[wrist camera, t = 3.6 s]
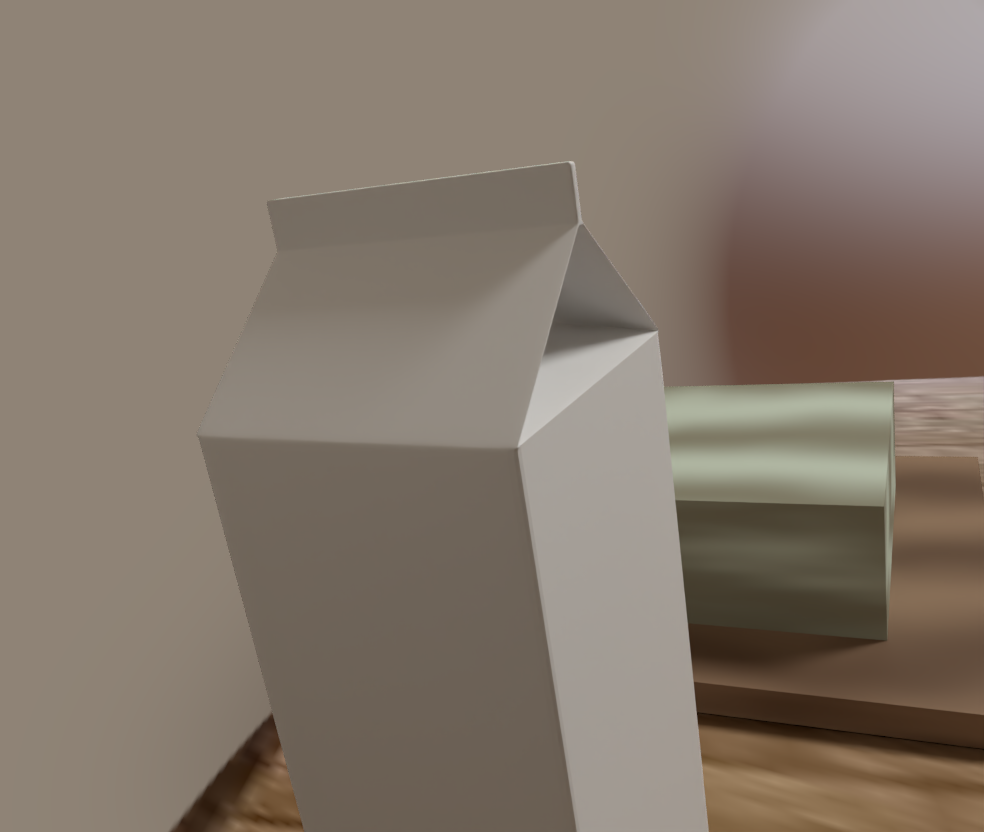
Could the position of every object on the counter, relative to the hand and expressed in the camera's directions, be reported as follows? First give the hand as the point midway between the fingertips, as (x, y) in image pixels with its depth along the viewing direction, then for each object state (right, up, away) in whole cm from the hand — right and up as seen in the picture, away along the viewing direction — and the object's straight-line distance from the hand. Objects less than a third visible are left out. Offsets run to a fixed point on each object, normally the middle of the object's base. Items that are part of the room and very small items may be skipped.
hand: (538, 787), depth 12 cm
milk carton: (+1, -9, +12) cm, 15 cm away
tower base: (+10, -2, +28) cm, 30 cm away
